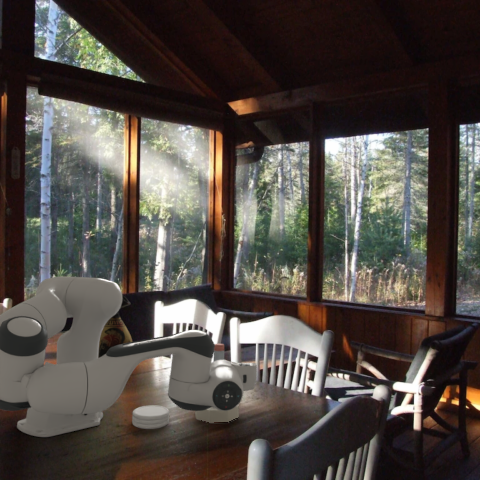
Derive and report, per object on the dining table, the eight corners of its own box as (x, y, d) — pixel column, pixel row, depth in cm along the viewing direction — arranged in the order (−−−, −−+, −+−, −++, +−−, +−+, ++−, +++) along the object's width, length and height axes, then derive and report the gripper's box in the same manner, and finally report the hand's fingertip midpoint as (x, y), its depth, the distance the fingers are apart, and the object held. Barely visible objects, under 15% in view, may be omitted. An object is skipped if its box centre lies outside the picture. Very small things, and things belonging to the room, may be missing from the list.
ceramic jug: (138, 367, 203) (140, 290, 203) (125, 378, 188) (127, 294, 188) (95, 365, 205) (97, 288, 205) (79, 376, 190) (81, 292, 190)
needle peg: (221, 395, 149) (222, 346, 149) (211, 394, 150) (212, 345, 150) (224, 392, 152) (225, 344, 151) (215, 391, 152) (216, 343, 152)
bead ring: (219, 426, 142) (219, 413, 142) (186, 416, 150) (187, 403, 150) (246, 414, 152) (246, 402, 152) (214, 406, 159) (214, 394, 159)
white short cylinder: (152, 414, 151) (153, 402, 151) (176, 423, 145) (177, 410, 145) (124, 423, 144) (124, 410, 144) (148, 432, 137) (149, 419, 137)
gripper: (181, 390, 137) (181, 376, 150) (260, 389, 139) (253, 375, 153) (182, 366, 137) (182, 354, 150) (260, 365, 139) (253, 353, 152)
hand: (218, 364), depth 151 cm, fingers closed on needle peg, 3 cm apart
